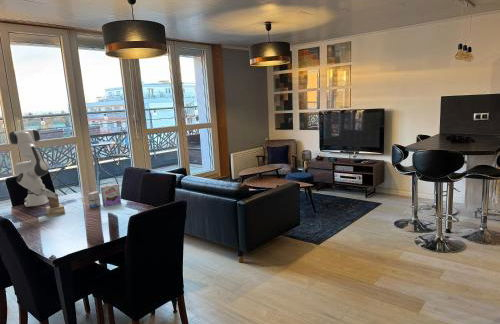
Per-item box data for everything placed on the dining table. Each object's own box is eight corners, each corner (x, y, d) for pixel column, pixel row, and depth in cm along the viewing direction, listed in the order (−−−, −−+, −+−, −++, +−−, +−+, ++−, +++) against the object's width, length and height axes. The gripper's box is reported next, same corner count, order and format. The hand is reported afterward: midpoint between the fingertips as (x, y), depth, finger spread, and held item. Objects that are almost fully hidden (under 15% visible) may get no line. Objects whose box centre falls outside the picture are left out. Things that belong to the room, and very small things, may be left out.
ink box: (94, 207, 280) (92, 193, 278) (89, 207, 281) (87, 193, 279) (101, 204, 288) (99, 191, 286) (95, 204, 289) (94, 191, 287)
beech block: (47, 214, 270) (45, 206, 270) (62, 210, 277) (61, 203, 276) (49, 217, 262) (48, 209, 261) (65, 213, 269) (64, 206, 268)
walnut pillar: (50, 207, 268) (48, 194, 266) (56, 205, 272) (54, 193, 270) (52, 208, 265) (50, 195, 263) (59, 206, 269) (57, 194, 267)
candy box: (103, 206, 281) (101, 187, 278) (102, 205, 286) (100, 186, 283) (121, 203, 287) (118, 184, 285) (120, 202, 292) (117, 183, 290)
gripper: (47, 186, 254) (62, 195, 263) (36, 183, 266) (51, 192, 275) (41, 193, 251) (57, 202, 260) (30, 190, 264) (46, 199, 273)
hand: (54, 197), depth 268 cm, fingers open, 8 cm apart
